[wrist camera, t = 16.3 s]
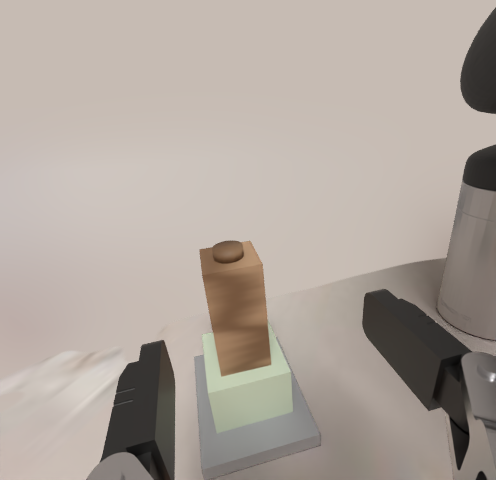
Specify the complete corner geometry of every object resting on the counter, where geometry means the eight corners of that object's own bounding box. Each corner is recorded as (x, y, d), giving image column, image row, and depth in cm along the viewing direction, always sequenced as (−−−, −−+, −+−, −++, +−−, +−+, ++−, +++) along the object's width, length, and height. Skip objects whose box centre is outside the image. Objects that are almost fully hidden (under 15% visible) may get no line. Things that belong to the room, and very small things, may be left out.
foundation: (277, 346, 36) (274, 303, 33) (320, 445, 25) (320, 392, 22) (196, 366, 34) (186, 322, 32) (204, 480, 23) (190, 428, 21)
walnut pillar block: (259, 331, 29) (249, 232, 25) (271, 365, 25) (261, 254, 21) (216, 340, 29) (197, 240, 24) (221, 376, 25) (200, 265, 20)
